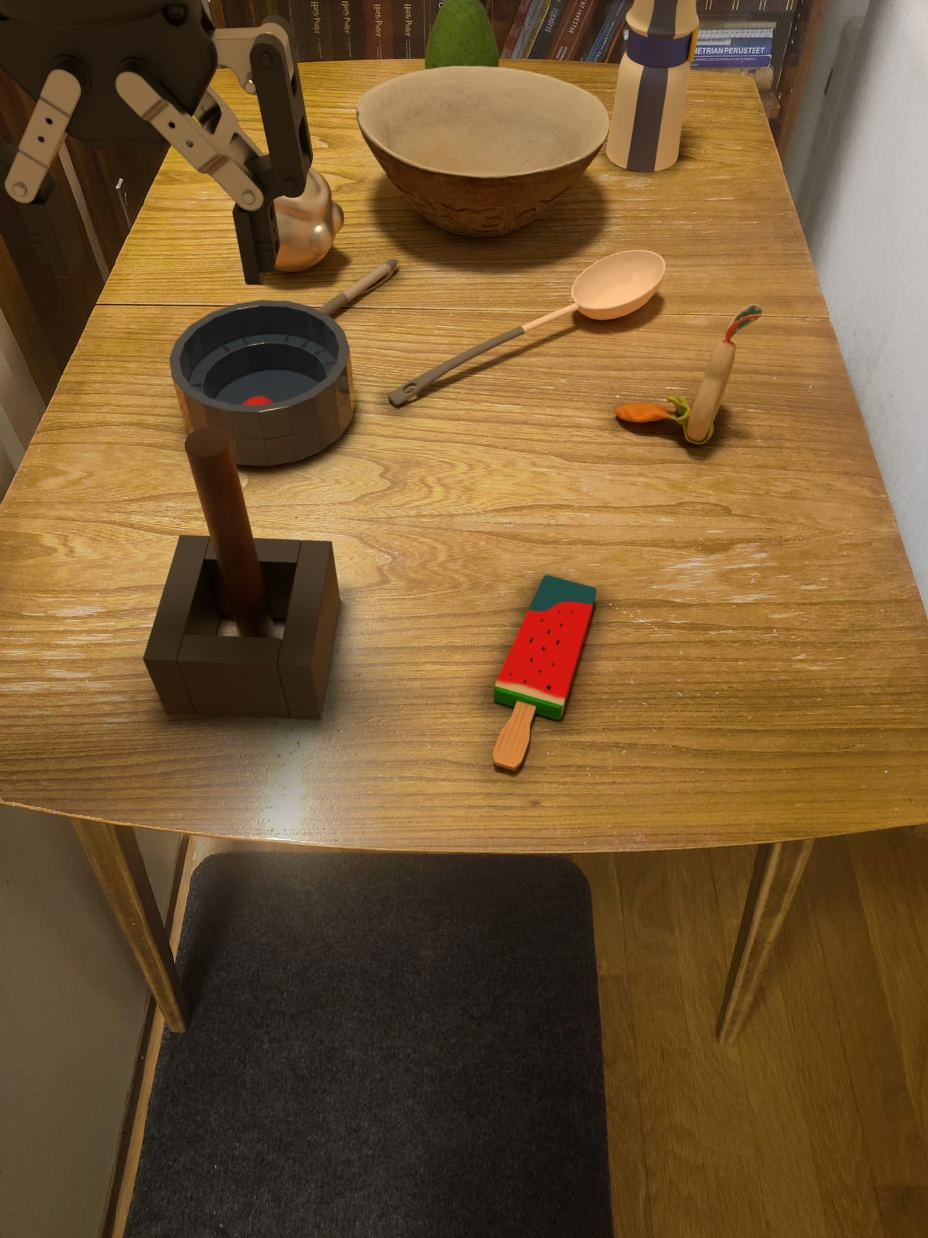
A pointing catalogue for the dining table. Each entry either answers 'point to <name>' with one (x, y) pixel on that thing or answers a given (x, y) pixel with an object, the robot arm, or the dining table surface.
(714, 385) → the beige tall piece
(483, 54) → the fruit
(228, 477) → the stick
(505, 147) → the bowl
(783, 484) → the dining table surface
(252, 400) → the bead
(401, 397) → the ladle
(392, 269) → the pen
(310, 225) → the copper rounded figure
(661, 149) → the water bottle
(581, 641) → the popsicle
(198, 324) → the dark grey round dish
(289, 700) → the holder
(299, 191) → the robot arm
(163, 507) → the dining table surface
